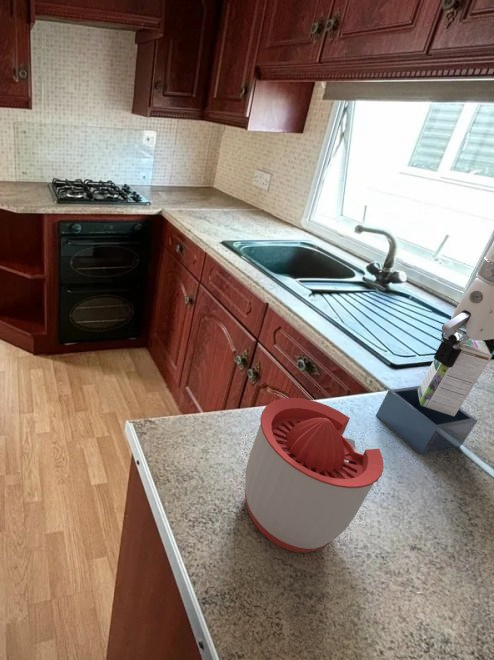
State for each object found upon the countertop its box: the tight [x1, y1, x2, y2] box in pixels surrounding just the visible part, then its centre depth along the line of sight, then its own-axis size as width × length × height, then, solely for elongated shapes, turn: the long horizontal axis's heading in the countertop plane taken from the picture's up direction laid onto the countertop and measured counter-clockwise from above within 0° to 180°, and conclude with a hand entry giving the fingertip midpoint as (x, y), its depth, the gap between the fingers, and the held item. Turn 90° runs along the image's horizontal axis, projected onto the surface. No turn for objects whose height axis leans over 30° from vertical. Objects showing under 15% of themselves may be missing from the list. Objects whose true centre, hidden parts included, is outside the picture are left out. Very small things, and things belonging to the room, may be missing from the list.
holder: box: [375, 385, 478, 456], centre depth 81 cm, size 11×11×7 cm
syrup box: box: [418, 333, 493, 416], centre depth 76 cm, size 6×6×14 cm
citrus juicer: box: [244, 397, 385, 554], centre depth 58 cm, size 16×17×20 cm
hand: (459, 360), depth 75 cm, fingers closed on syrup box, 8 cm apart
